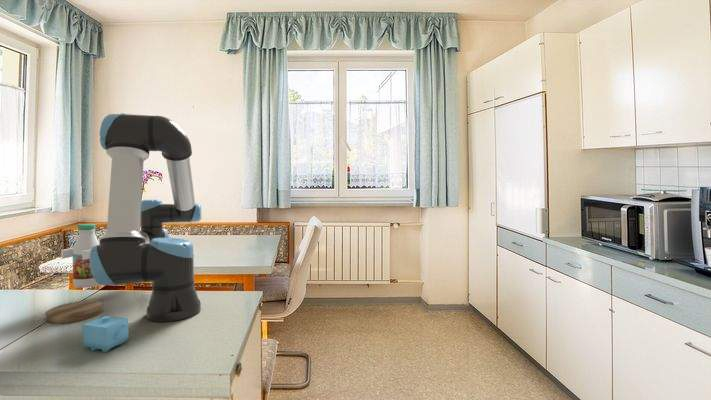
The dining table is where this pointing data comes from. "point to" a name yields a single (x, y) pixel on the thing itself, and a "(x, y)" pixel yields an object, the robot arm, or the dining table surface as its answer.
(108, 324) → the light blue box
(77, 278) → the milk bottle
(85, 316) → the brown round coaster
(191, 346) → the dining table surface
